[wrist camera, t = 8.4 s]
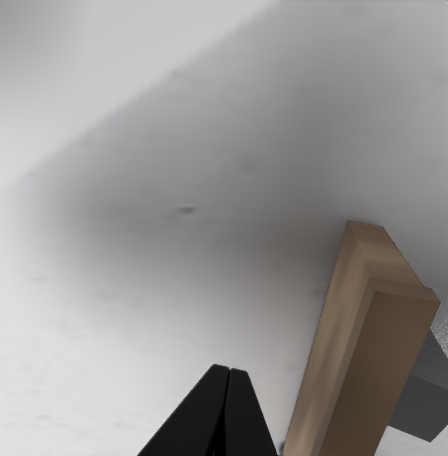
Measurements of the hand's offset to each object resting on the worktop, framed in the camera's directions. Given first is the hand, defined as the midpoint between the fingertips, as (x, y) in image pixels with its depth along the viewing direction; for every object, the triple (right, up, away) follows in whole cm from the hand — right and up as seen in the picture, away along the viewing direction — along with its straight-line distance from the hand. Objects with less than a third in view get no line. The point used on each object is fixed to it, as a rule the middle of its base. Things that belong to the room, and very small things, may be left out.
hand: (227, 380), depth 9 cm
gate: (+4, -2, +7) cm, 8 cm away
